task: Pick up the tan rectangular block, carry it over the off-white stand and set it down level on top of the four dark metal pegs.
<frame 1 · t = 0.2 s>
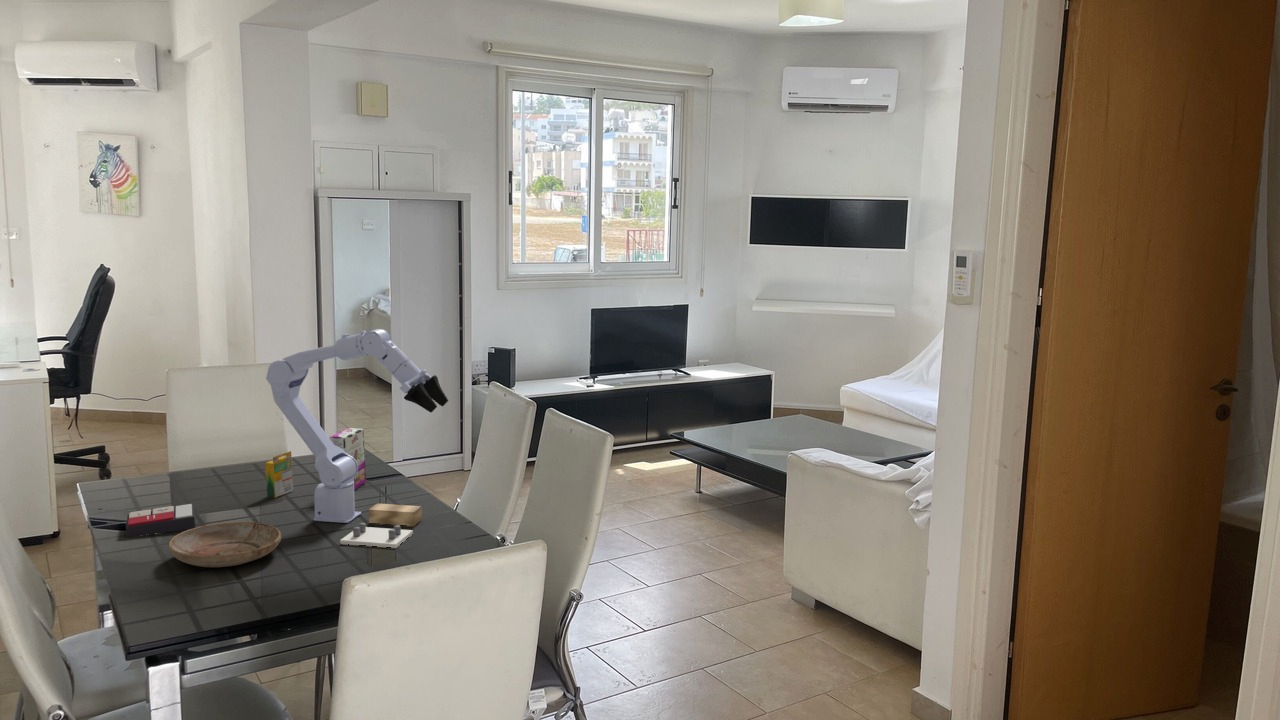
hand: (439, 406, 234), 31 cm above the table, tool tilted 45°, fingers open, 7 cm apart
tan rectangular block: (395, 522, 240), on the table
peg stand: (377, 539, 228), on the table
black box with panels: (162, 529, 234), on the table
crayon box: (280, 494, 263), on the table
candy bar box: (349, 488, 269), on the table
ceramic bowl: (227, 558, 215), on the table
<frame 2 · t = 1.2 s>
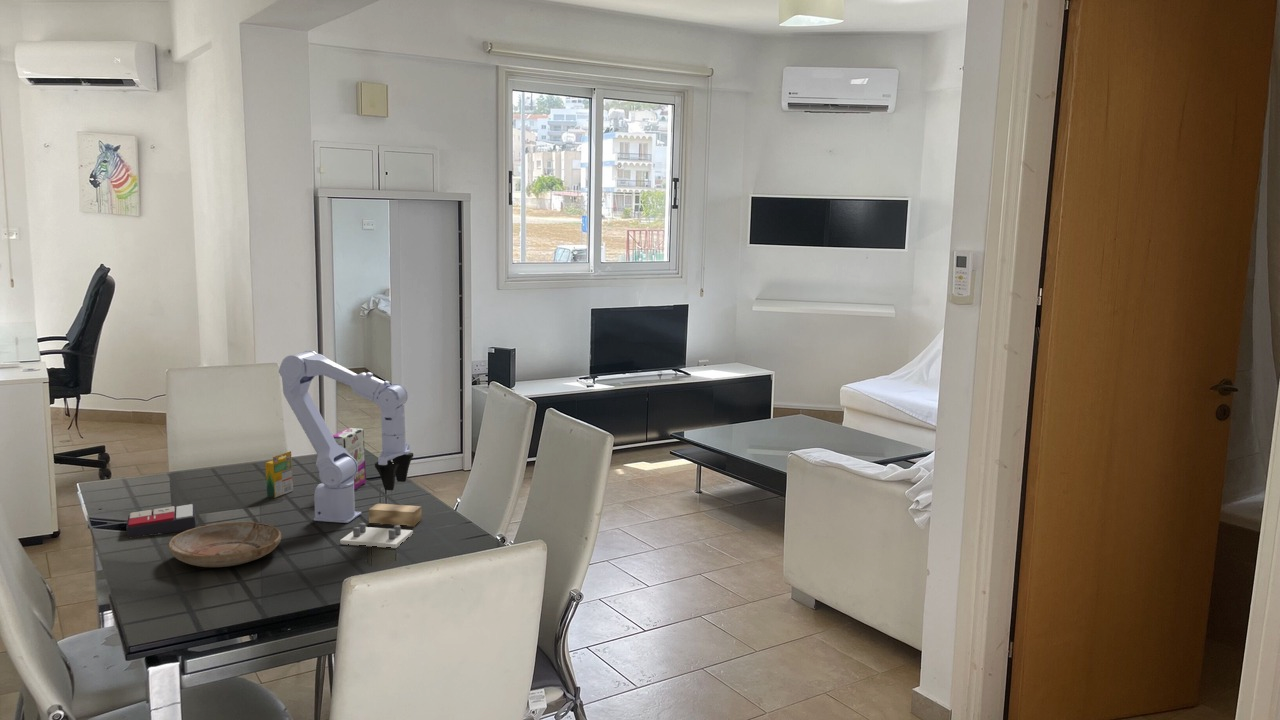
hand: (395, 485, 239), 10 cm above the table, tool pointing down, fingers open, 7 cm apart
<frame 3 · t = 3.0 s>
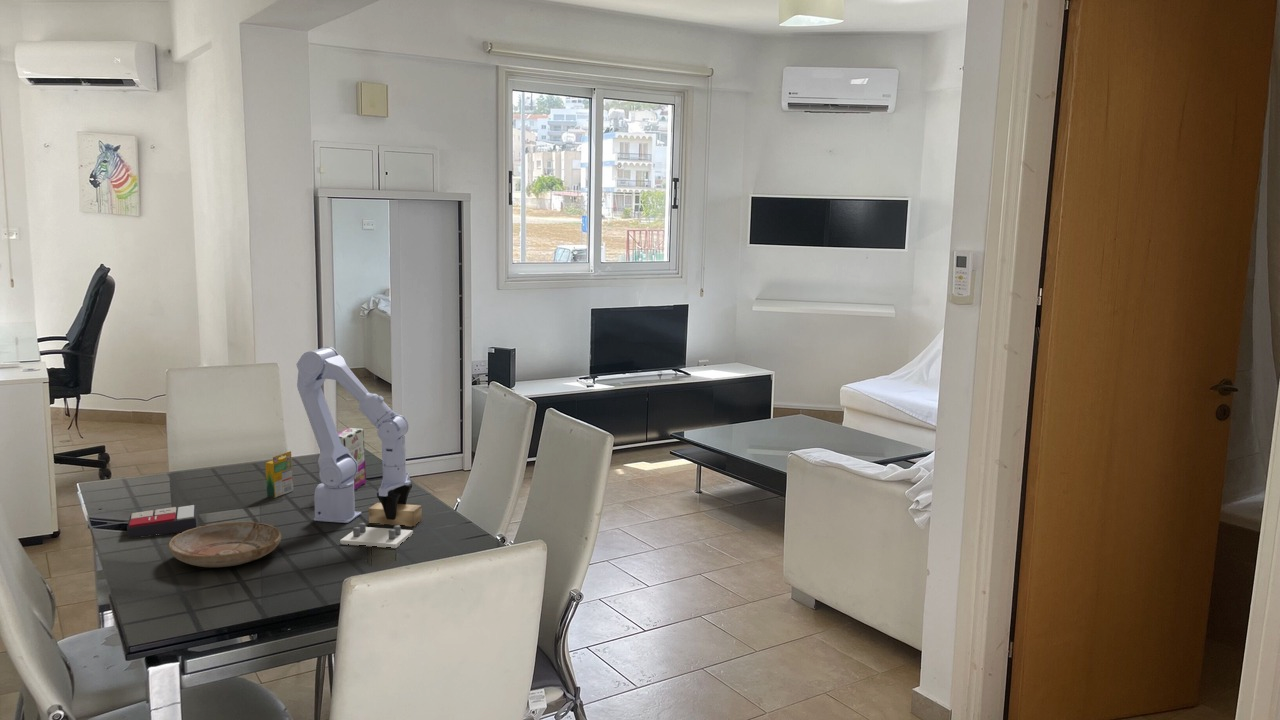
hand: (395, 515, 240), 2 cm above the table, tool pointing down, fingers closed on tan rectangular block, 5 cm apart
tan rectangular block: (395, 522, 240), on the table, touching gripper
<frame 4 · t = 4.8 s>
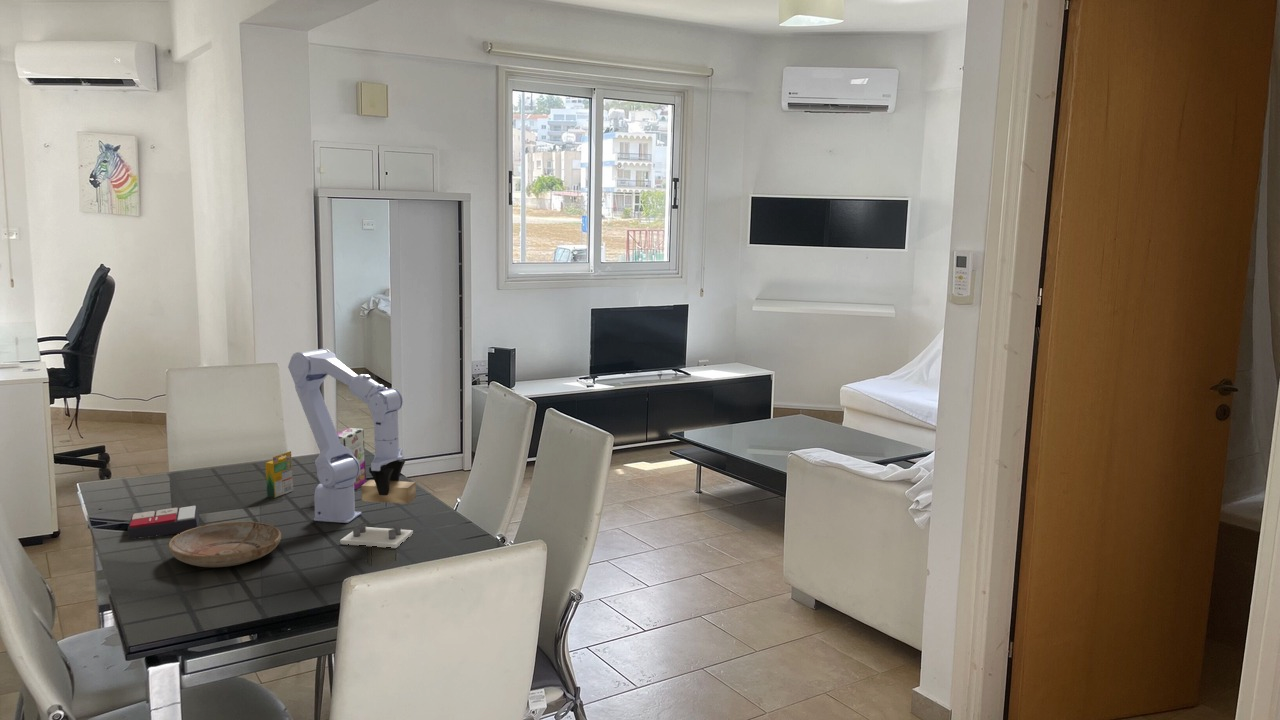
hand: (388, 491, 234), 9 cm above the table, tool pointing down, fingers closed on tan rectangular block, 5 cm apart
tan rectangular block: (389, 499, 234), point 7 cm above the table, touching gripper
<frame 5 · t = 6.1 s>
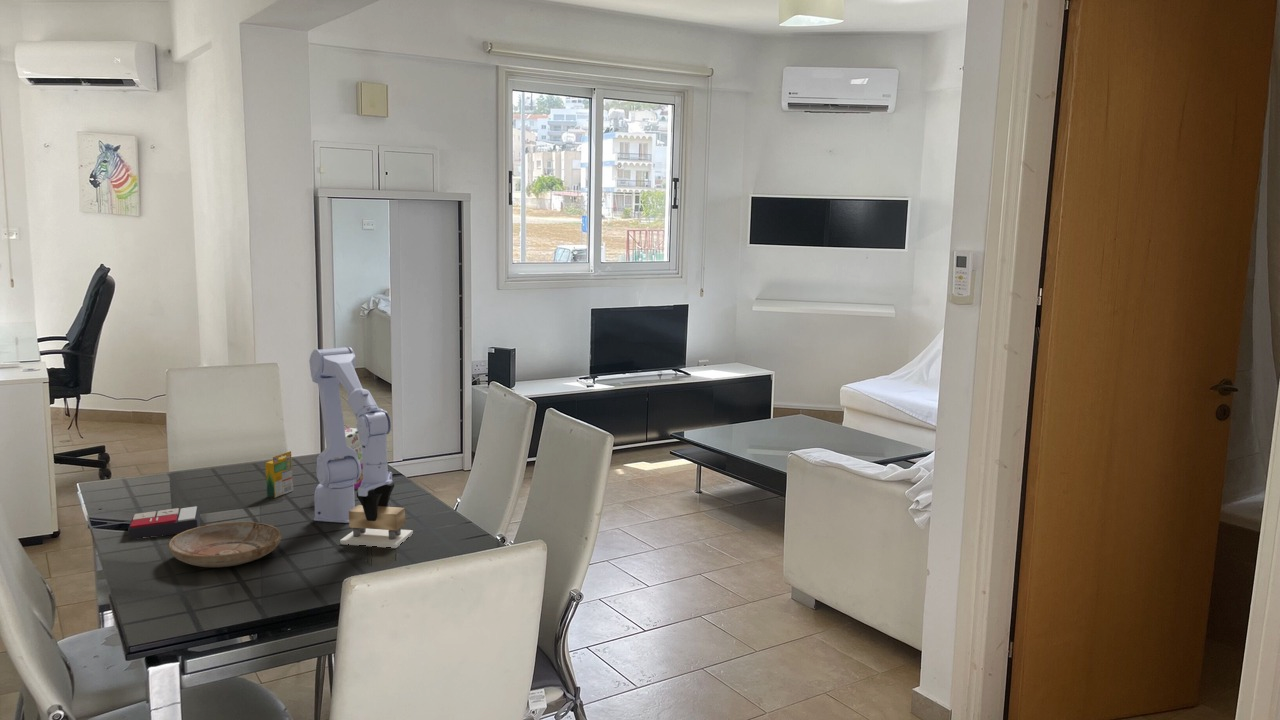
hand: (376, 516, 227), 6 cm above the table, tool pointing down, fingers closed on tan rectangular block, 5 cm apart
tan rectangular block: (377, 525, 227), point 3 cm above the table, touching gripper
when the fingers open (6 cm above the table, at t = 6.9 s): tan rectangular block stays where it is, resting on peg stand.
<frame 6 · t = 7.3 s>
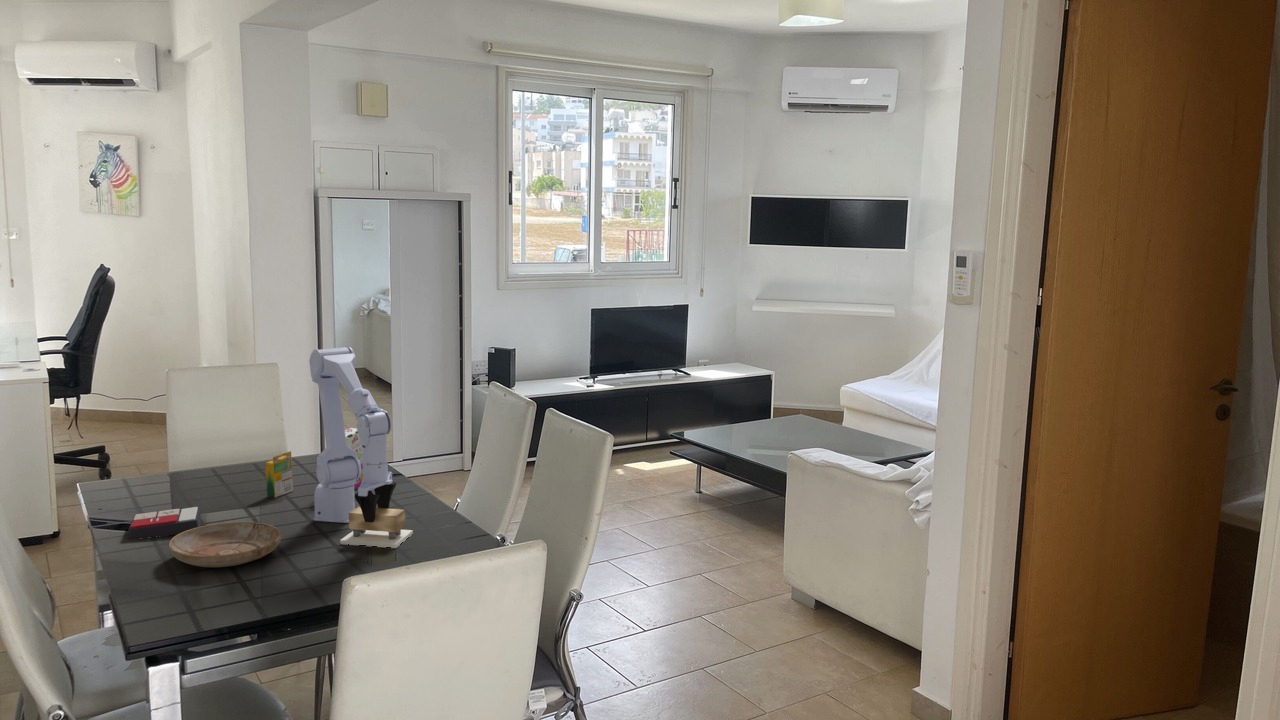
hand: (376, 516, 227), 6 cm above the table, tool pointing down, fingers open, 7 cm apart
tan rectangular block: (377, 527, 227), point 3 cm above the table, touching peg stand
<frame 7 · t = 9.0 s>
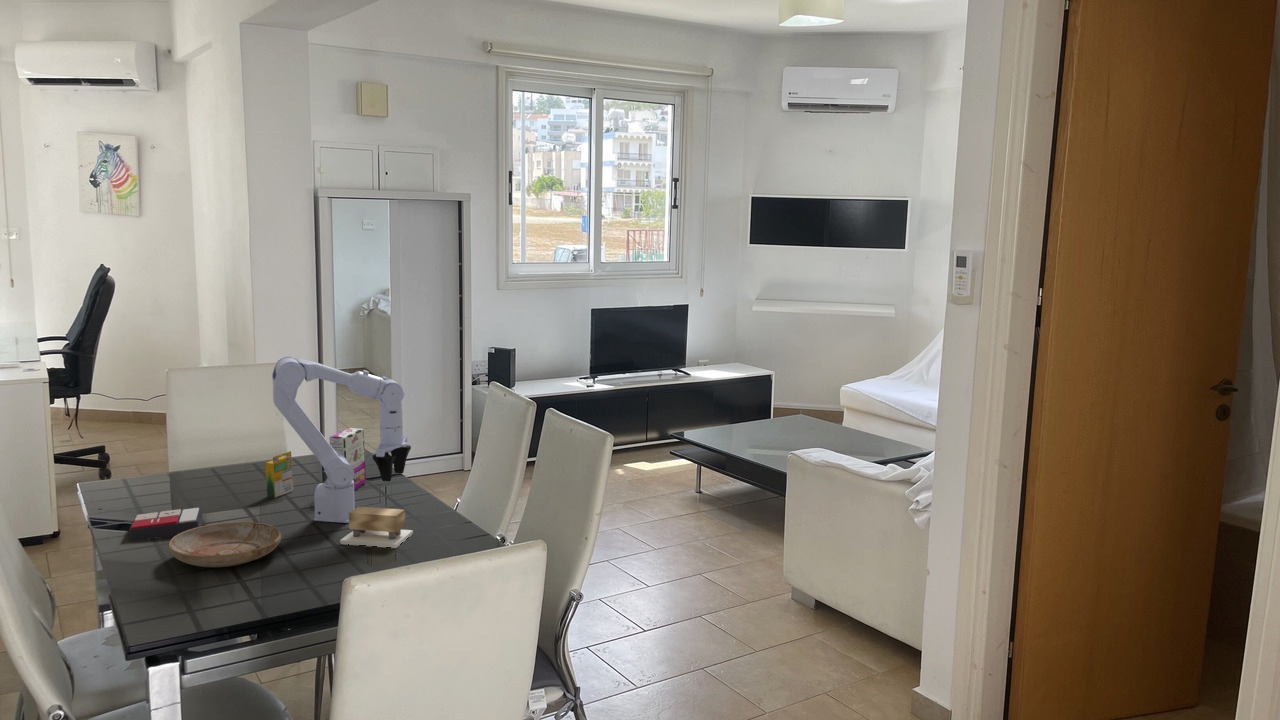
hand: (392, 476, 247), 9 cm above the table, tool pointing down, fingers open, 7 cm apart
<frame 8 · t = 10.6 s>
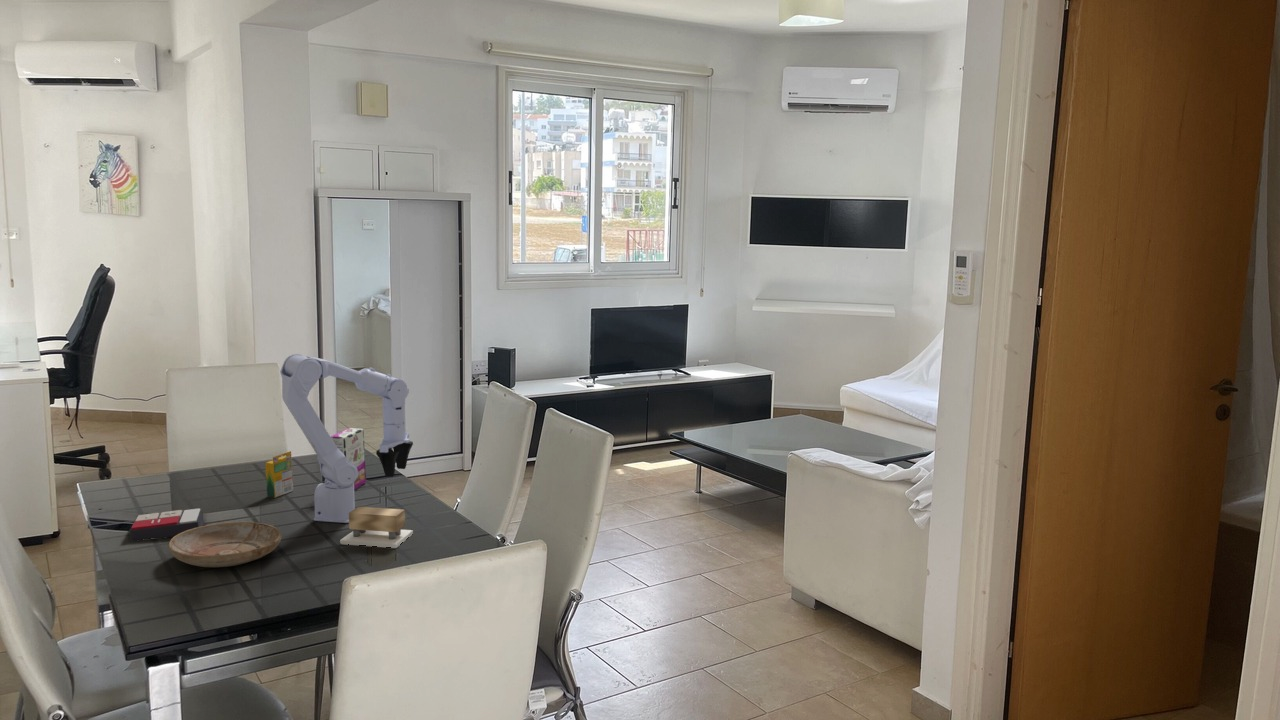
hand: (395, 472, 251), 9 cm above the table, tool pointing down, fingers open, 7 cm apart
at the end: tan rectangular block 0.2 cm off-centre on the peg stand, point 3.0 cm above the peg stand's base; tan rectangular block tilted 0°; the gripper is holding nothing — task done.
